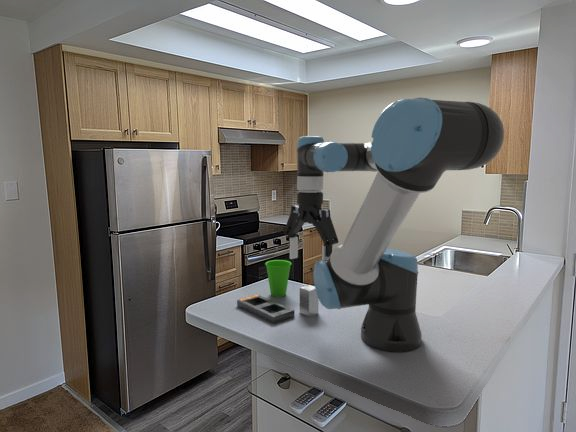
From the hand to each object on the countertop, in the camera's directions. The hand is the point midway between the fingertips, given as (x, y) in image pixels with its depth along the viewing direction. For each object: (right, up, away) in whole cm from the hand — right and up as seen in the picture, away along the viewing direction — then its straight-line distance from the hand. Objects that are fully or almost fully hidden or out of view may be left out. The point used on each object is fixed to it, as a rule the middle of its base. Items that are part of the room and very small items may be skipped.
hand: (309, 262), depth 116 cm
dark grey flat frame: (-13, -15, +4) cm, 21 cm away
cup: (-10, -13, +19) cm, 25 cm away
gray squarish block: (0, -16, +2) cm, 16 cm away
